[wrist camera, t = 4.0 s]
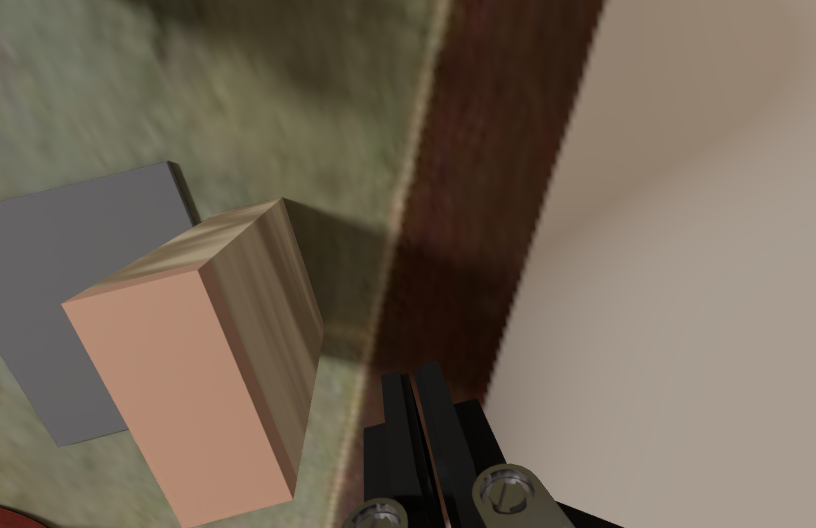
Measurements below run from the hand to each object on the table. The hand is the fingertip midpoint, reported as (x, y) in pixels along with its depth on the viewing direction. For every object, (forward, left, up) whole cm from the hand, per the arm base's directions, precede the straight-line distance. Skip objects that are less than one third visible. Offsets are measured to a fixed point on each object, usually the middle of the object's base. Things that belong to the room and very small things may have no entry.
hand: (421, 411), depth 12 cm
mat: (+18, -1, -16) cm, 24 cm away
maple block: (+7, -1, -16) cm, 18 cm away
